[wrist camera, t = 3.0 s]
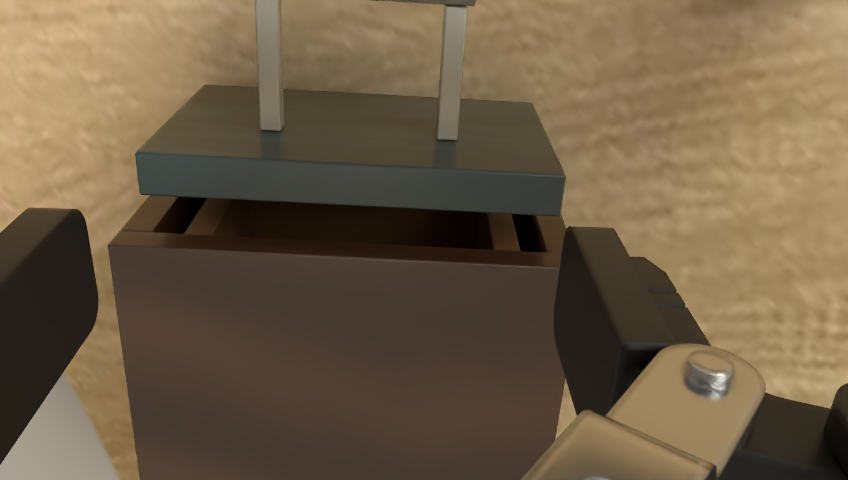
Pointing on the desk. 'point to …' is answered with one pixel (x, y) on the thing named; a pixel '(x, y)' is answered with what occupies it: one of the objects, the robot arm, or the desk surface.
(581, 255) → the robot arm
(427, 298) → the cabinet
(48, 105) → the desk surface
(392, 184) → the drawer
